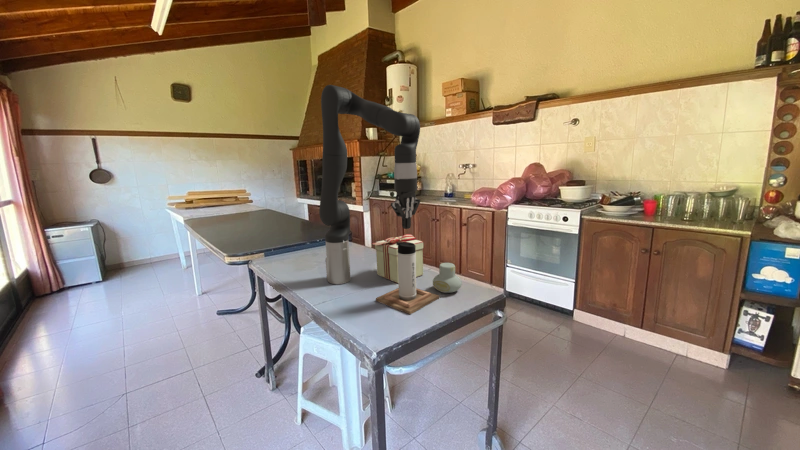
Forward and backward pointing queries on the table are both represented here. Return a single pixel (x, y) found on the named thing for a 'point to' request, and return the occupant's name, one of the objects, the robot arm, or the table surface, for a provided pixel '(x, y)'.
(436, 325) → the table surface
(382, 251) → the gift box
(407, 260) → the travel mug
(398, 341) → the table surface
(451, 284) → the air freshener
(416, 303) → the tan square plate
